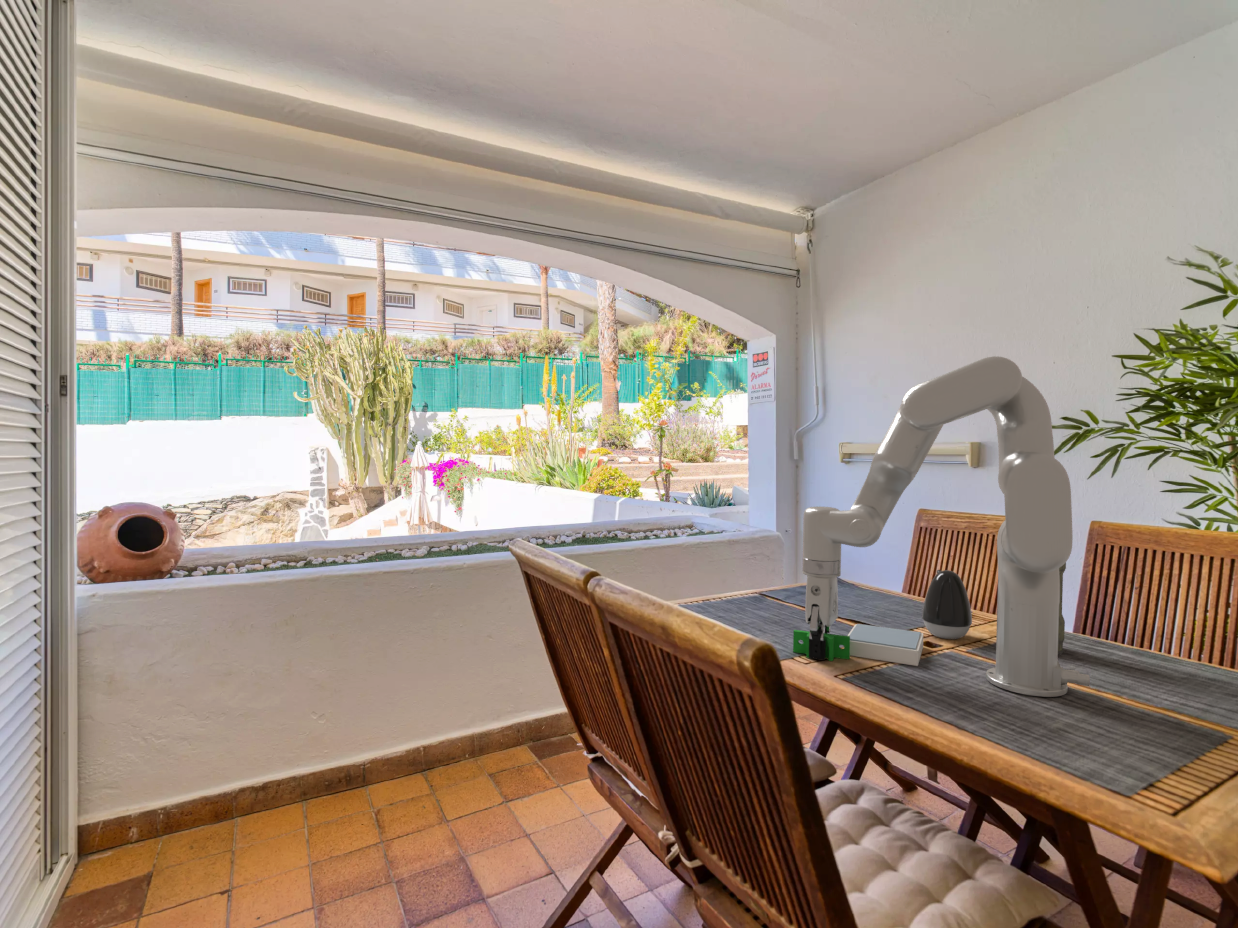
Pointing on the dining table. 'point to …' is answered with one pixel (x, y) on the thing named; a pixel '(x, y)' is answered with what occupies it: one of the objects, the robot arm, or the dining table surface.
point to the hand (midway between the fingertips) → (819, 654)
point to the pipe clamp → (831, 645)
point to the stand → (886, 644)
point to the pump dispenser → (947, 606)
